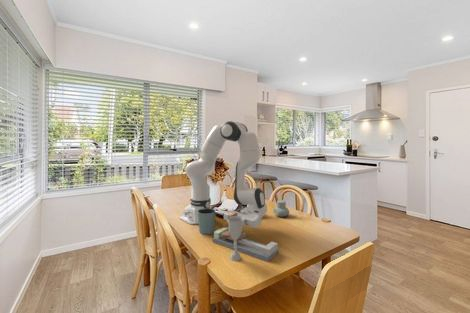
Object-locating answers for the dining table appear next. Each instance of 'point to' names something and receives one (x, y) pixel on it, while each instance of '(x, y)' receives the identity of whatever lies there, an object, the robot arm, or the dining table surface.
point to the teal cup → (206, 220)
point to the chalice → (235, 233)
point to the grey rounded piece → (281, 209)
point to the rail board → (248, 246)
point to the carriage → (227, 233)
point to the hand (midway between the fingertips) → (232, 222)
